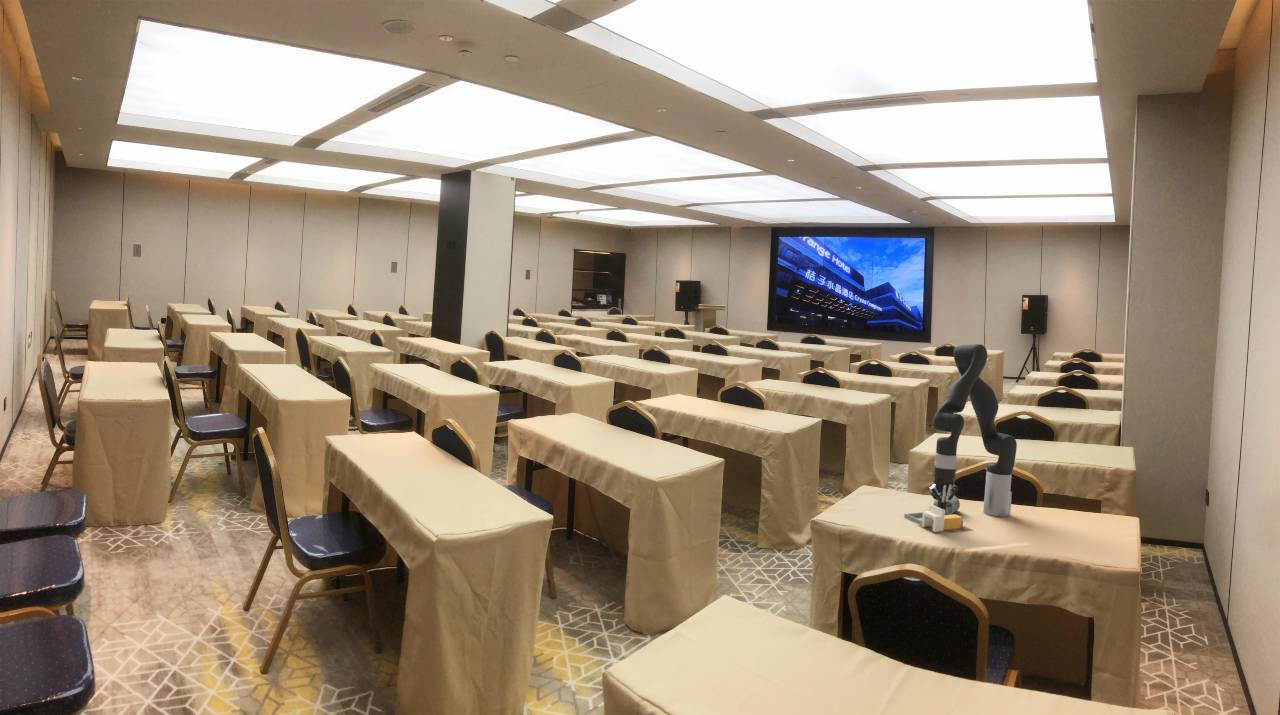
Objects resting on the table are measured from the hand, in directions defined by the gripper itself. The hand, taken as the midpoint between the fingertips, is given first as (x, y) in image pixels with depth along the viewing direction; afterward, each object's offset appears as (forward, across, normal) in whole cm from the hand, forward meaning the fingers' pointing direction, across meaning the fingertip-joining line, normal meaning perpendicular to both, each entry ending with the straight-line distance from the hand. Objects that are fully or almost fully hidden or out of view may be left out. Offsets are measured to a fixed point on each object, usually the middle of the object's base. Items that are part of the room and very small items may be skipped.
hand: (941, 511), depth 271 cm
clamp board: (+8, -2, 0) cm, 8 cm away
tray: (+8, -2, -10) cm, 13 cm away
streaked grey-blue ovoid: (+8, -17, -16) cm, 25 cm away
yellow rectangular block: (+7, -4, 0) cm, 8 cm away
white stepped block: (+7, +4, 0) cm, 7 cm away
